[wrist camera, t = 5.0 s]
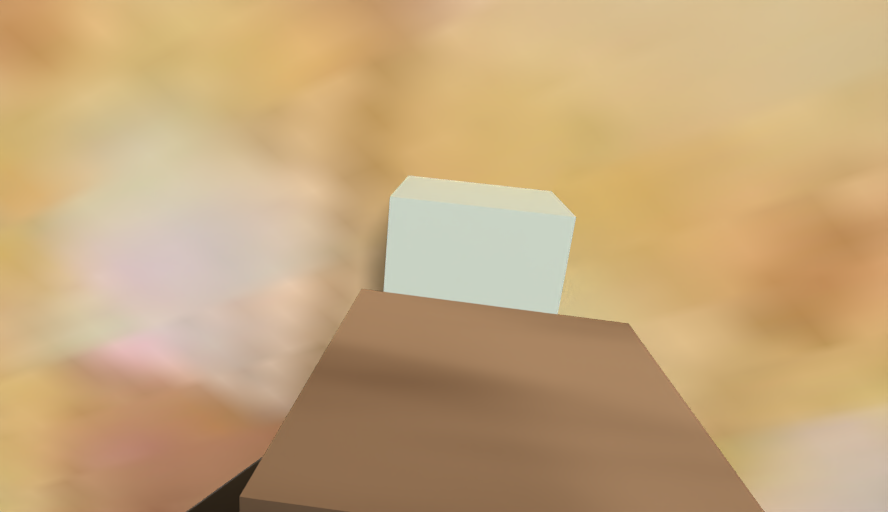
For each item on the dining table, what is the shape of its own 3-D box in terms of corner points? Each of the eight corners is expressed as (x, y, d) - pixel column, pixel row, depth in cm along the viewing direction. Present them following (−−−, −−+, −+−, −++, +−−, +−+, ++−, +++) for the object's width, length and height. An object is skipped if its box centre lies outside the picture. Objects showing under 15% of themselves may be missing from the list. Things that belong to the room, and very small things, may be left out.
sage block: (550, 190, 20) (575, 217, 15) (528, 320, 22) (545, 380, 17) (408, 175, 20) (389, 196, 16) (398, 305, 22) (378, 360, 17)
